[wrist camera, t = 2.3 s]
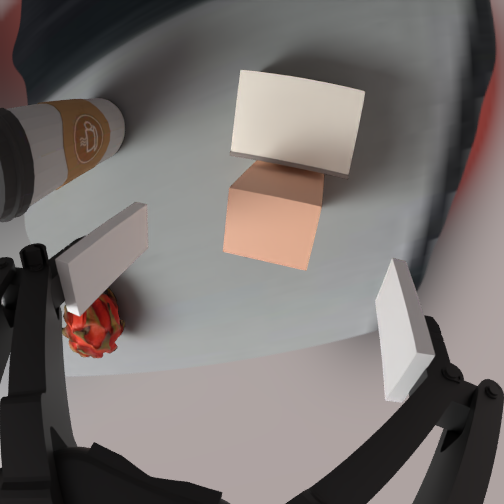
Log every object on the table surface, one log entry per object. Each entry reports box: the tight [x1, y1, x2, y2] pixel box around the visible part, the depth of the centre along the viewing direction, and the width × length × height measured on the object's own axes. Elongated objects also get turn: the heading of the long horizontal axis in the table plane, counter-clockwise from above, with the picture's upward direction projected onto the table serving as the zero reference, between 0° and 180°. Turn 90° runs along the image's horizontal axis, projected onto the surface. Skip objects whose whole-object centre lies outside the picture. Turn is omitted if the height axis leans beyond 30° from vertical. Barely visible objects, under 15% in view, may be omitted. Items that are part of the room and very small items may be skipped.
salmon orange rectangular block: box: [223, 160, 324, 270], centre depth 22 cm, size 4×5×10 cm
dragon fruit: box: [62, 288, 125, 358], centre depth 37 cm, size 8×8×12 cm
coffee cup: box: [0, 98, 125, 222], centre depth 21 cm, size 8×8×15 cm
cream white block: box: [230, 70, 365, 179], centre depth 21 cm, size 6×8×5 cm
